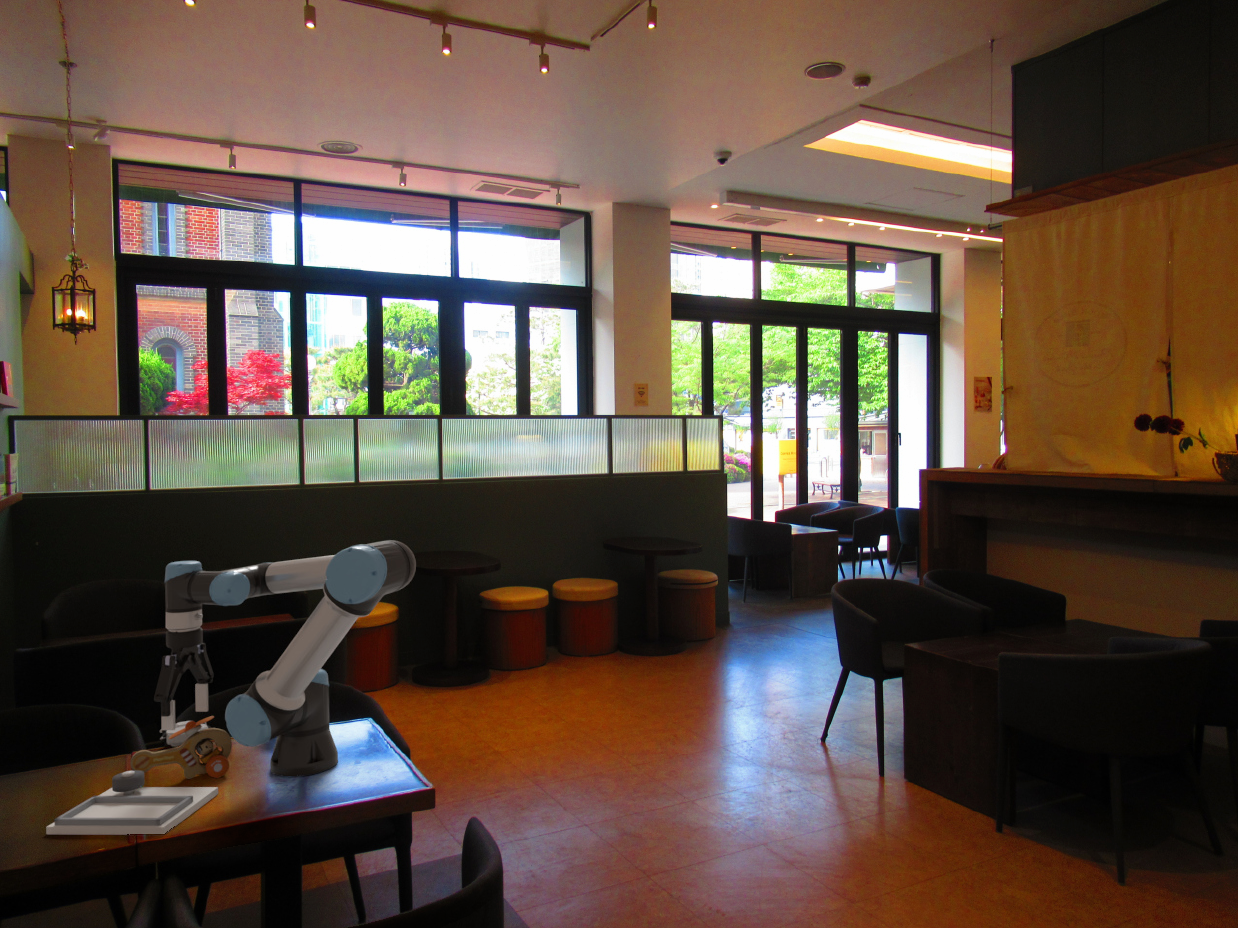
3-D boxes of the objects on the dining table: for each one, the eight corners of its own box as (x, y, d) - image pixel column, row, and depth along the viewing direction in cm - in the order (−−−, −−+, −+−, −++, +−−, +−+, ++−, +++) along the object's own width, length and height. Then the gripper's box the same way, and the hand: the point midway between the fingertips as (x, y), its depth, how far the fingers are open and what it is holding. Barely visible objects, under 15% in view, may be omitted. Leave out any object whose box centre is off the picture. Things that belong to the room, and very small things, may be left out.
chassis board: (218, 793, 185) (217, 780, 185) (164, 834, 165) (163, 819, 165) (112, 793, 186) (112, 780, 186) (46, 834, 166) (46, 819, 166)
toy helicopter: (234, 774, 196) (233, 716, 196) (131, 795, 185) (130, 733, 185) (229, 764, 203) (228, 707, 203) (130, 783, 192) (128, 723, 192)
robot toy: (157, 741, 224) (162, 753, 212) (157, 724, 224) (161, 734, 212) (208, 732, 231) (215, 743, 218) (207, 715, 231) (215, 725, 218)
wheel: (150, 781, 185) (150, 767, 185) (133, 791, 179) (132, 777, 179) (124, 781, 185) (123, 767, 185) (106, 791, 179) (105, 777, 179)
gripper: (168, 640, 182) (169, 738, 182) (228, 617, 206) (229, 704, 207) (134, 640, 182) (136, 737, 182) (198, 617, 207) (199, 703, 207)
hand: (185, 720), depth 194 cm, fingers open, 13 cm apart
